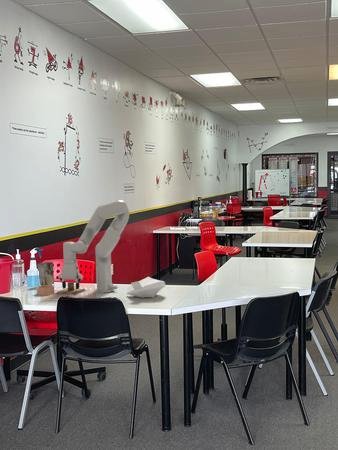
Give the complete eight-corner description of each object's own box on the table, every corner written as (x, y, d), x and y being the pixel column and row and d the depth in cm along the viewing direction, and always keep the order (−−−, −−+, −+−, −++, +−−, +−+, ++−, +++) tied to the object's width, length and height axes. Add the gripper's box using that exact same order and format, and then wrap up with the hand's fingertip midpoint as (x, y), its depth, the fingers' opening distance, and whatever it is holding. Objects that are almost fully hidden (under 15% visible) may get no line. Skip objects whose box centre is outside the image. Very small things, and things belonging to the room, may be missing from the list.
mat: (87, 291, 372) (87, 290, 372) (76, 295, 358) (76, 294, 358) (66, 290, 377) (66, 289, 377) (54, 294, 363) (54, 293, 363)
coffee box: (47, 284, 400) (46, 261, 399) (54, 285, 397) (53, 262, 396) (38, 286, 392) (37, 263, 391) (45, 287, 389) (44, 263, 388)
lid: (85, 290, 372) (84, 281, 371) (75, 294, 359) (75, 284, 359) (66, 289, 376) (66, 280, 375) (56, 293, 363) (56, 284, 363)
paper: (145, 291, 364) (145, 272, 363) (174, 296, 348) (173, 275, 347) (116, 298, 346) (115, 277, 345) (144, 303, 329) (144, 281, 328)
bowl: (56, 293, 366) (56, 285, 366) (48, 296, 357) (48, 288, 356) (42, 292, 370) (42, 285, 369) (34, 295, 360) (33, 287, 360)
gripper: (85, 260, 367) (86, 288, 368) (60, 260, 372) (61, 287, 374) (79, 262, 360) (80, 290, 361) (54, 262, 365) (55, 289, 367)
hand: (70, 288), depth 367 cm, fingers open, 8 cm apart
